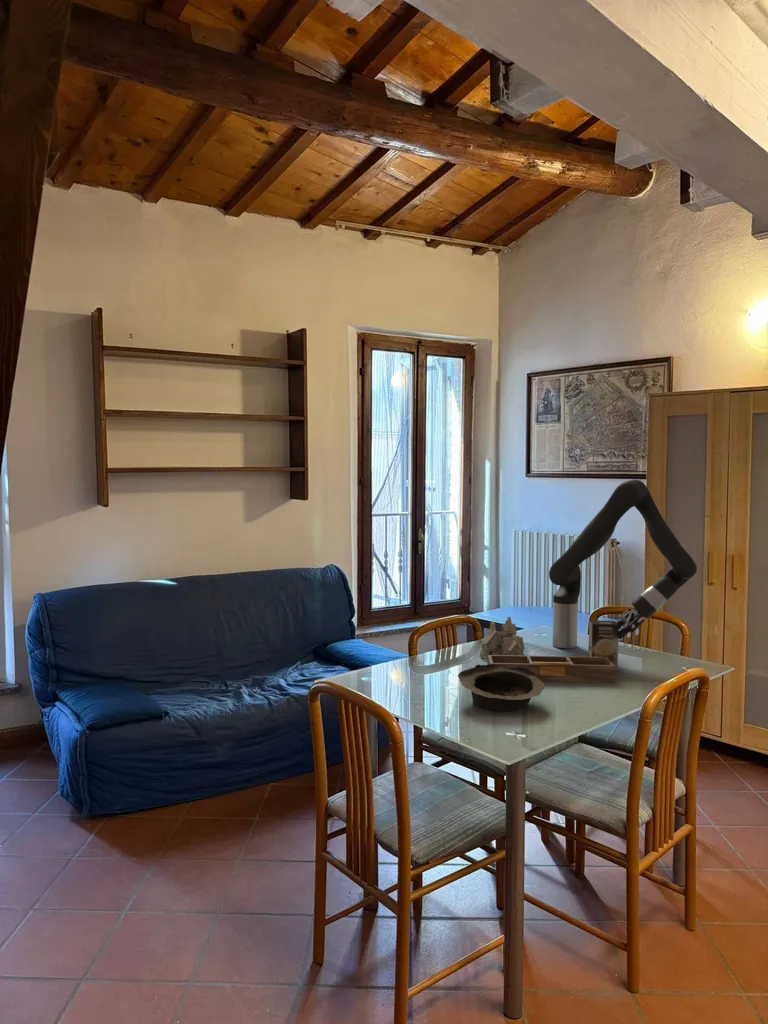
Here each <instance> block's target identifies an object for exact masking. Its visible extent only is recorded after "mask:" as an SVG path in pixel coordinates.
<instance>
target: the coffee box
mask: <svg viewBox="0 0 768 1024" xmlns="http://www.w3.org/2000/svg"><path fill="white" fill-rule="evenodd" d="M588 623H589V624H588V625H589V626H588V651H587V652H588V653H587V657H608V658H609V659H610V661H611V662H612V663H613V664H614V665H615V671H618V669H619V665H618V664H619V641H620V639H619V638H618V637H617V636H616V634H617V633H618V632H619V631H620V629H619V624H618V623H617V621H615V620H600V619H599V620H595V619H589V622H588Z"/></svg>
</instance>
